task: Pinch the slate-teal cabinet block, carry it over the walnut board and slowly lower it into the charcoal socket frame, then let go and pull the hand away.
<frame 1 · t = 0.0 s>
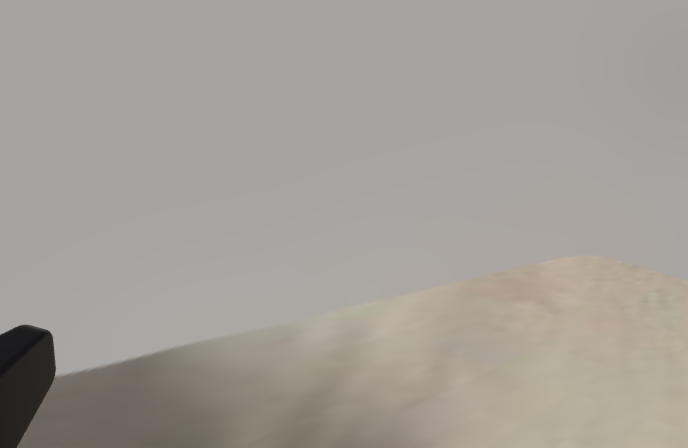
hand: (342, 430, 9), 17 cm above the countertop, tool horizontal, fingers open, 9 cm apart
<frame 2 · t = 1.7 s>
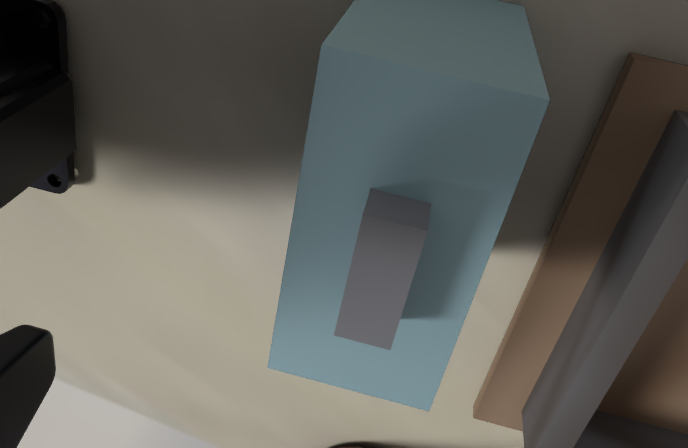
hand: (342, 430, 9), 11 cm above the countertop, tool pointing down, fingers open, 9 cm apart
cabinet block: (412, 125, 19), on the countertop
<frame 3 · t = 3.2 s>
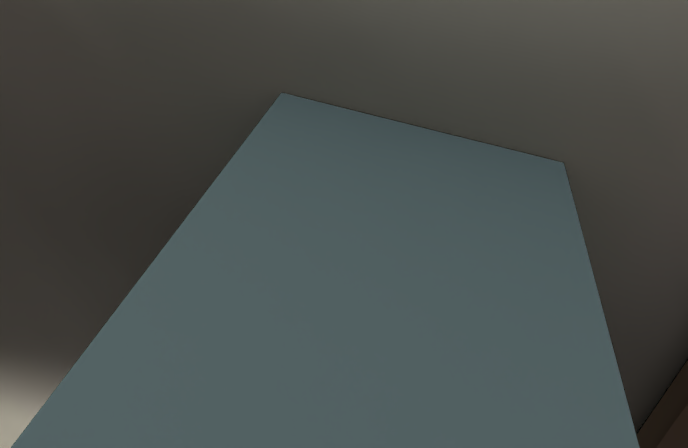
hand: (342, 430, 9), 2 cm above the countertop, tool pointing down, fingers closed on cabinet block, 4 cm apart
cabinet block: (363, 336, 11), on the countertop, touching gripper
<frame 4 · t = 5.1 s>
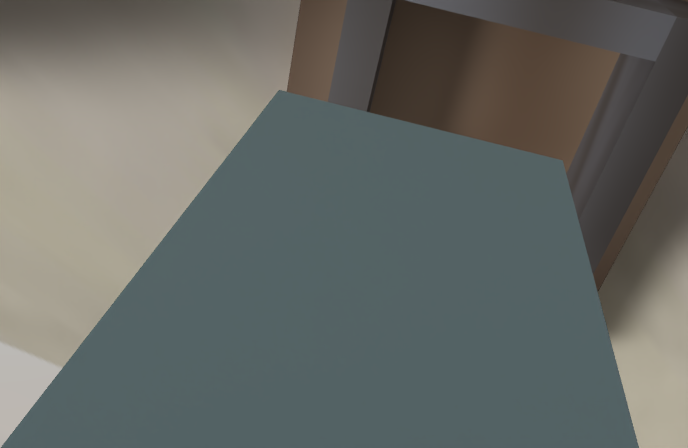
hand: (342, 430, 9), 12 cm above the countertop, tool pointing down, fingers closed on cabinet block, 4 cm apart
socket board: (458, 162, 19), on the countertop
cabinet block: (361, 335, 11), point 10 cm above the countertop, touching gripper
when the fingers open (4 cm above the countertop, at t = 7.2 s): cabinet block drops 1 cm, resting on socket board.
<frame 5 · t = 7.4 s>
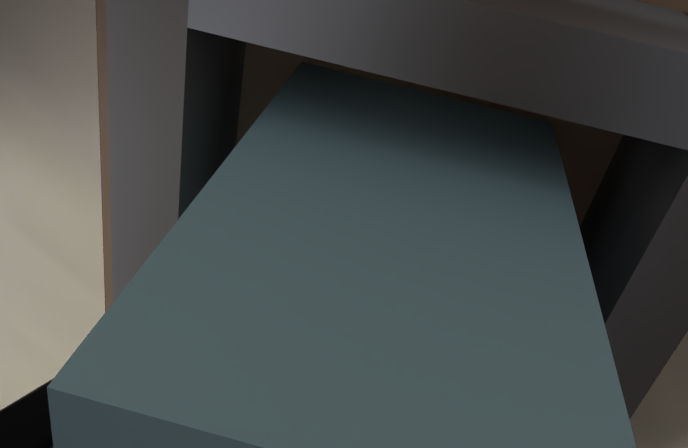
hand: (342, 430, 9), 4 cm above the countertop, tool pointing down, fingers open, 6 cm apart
socket board: (379, 272, 12), on the countertop
cabinet block: (372, 288, 12), point 1 cm above the countertop, touching socket board
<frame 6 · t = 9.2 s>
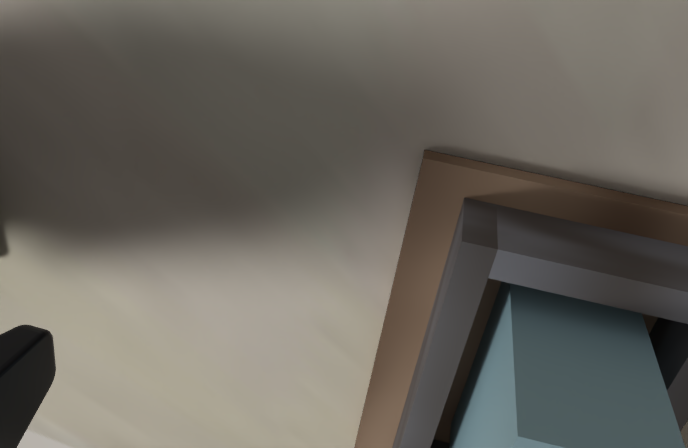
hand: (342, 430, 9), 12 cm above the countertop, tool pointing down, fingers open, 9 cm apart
socket board: (533, 354, 23), on the countertop
cabinet block: (532, 364, 22), point 1 cm above the countertop, touching socket board
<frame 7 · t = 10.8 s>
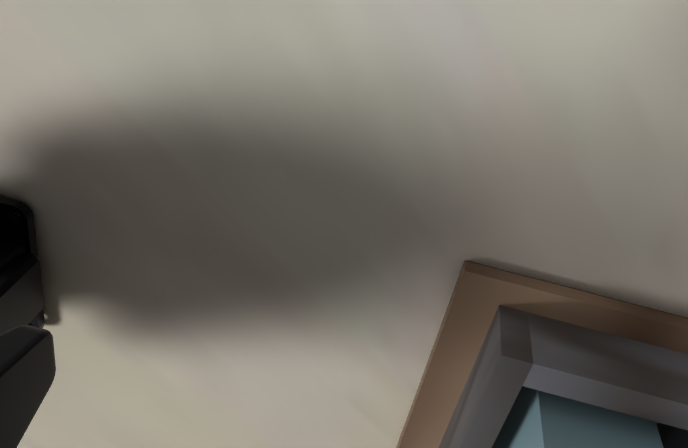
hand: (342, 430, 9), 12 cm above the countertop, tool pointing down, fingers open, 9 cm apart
socket board: (549, 434, 25), on the countertop
cabinet block: (549, 445, 25), point 1 cm above the countertop, touching socket board
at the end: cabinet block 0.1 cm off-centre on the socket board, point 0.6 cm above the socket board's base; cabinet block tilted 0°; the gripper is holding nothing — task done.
